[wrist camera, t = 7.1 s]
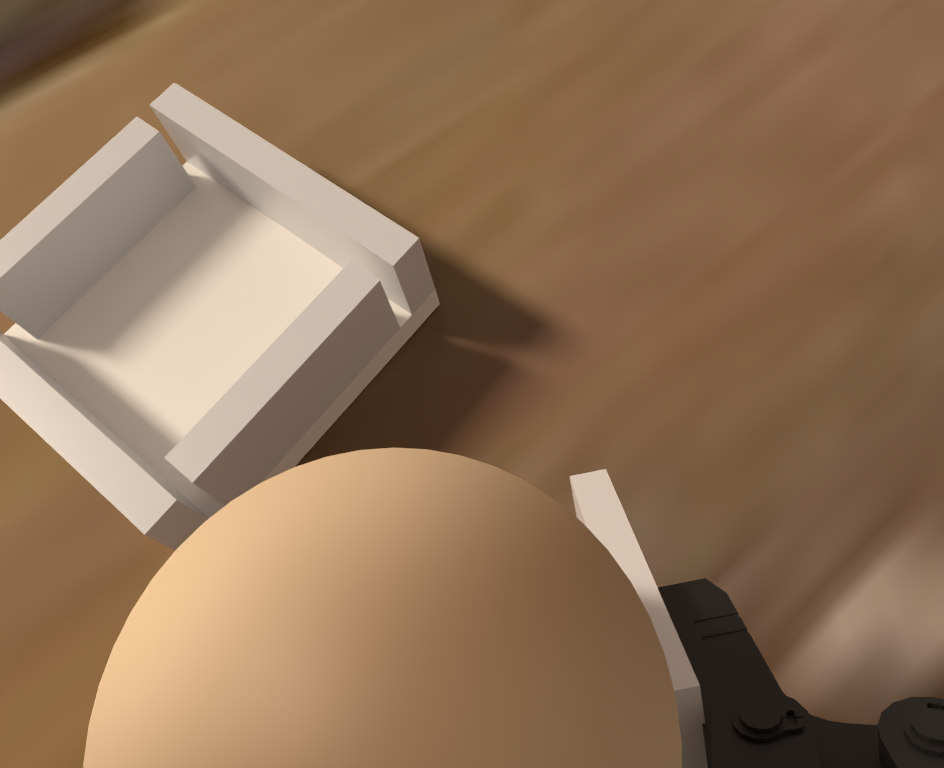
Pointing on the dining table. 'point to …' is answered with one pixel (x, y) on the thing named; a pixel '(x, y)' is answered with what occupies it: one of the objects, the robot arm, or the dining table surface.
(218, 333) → the square tray
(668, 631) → the robot arm
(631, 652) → the oak rail post
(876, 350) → the dining table surface
